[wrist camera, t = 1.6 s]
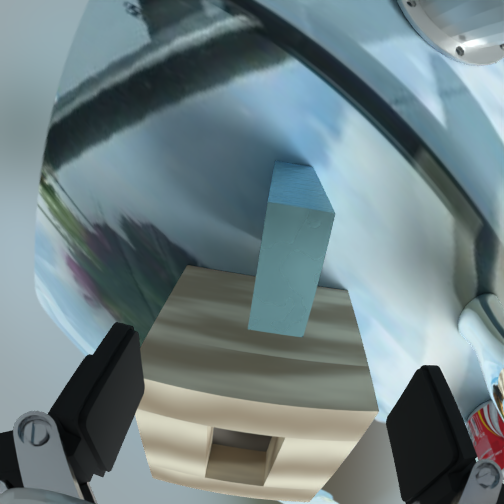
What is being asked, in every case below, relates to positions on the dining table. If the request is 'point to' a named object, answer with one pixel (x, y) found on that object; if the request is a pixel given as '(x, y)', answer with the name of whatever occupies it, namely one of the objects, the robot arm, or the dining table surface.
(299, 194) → the tall teal pillar
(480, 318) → the chrome pint tumbler
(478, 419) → the soda can
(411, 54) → the dining table surface
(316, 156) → the dining table surface
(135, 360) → the robot arm
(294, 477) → the wooden box with hole
